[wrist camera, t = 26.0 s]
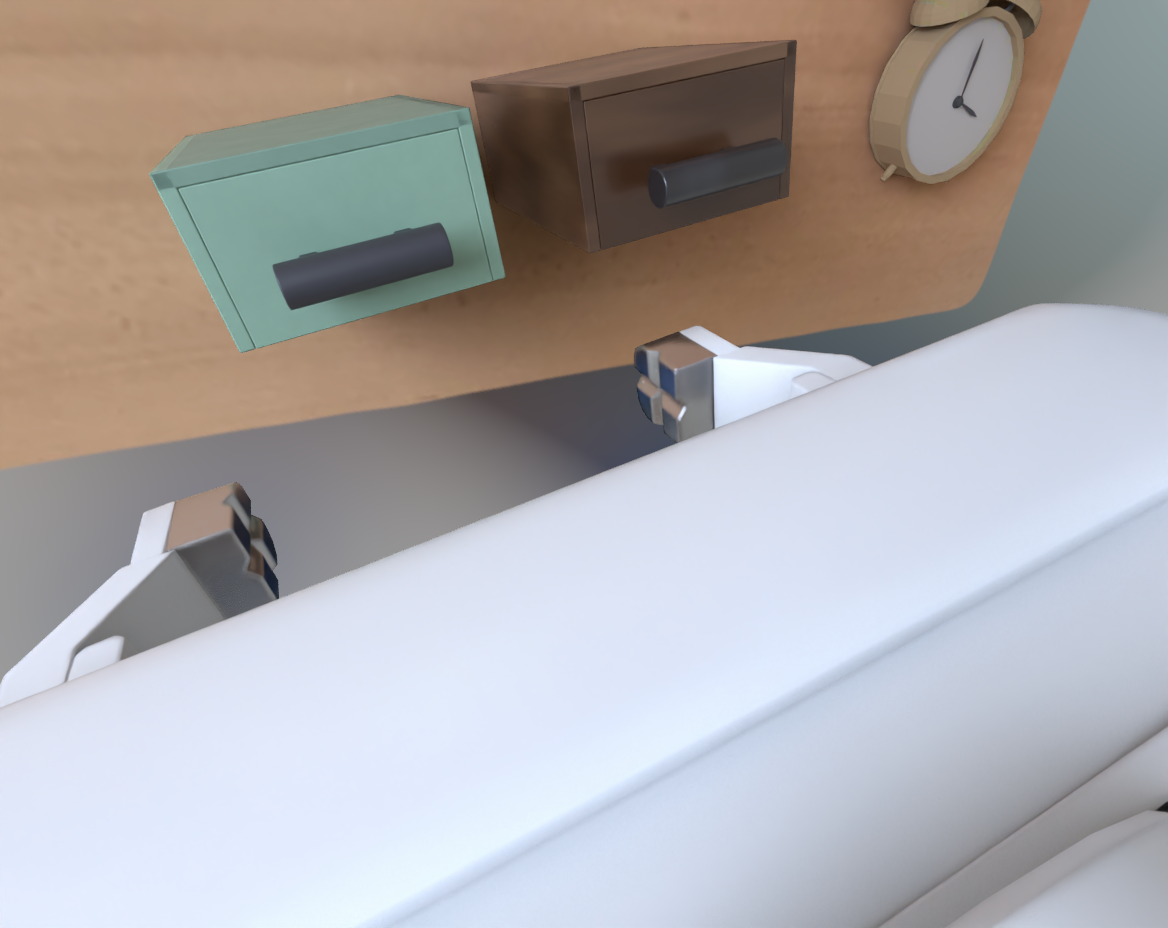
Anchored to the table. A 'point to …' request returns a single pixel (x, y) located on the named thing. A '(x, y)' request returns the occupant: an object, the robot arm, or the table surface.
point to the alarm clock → (949, 85)
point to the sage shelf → (332, 214)
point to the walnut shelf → (640, 138)
